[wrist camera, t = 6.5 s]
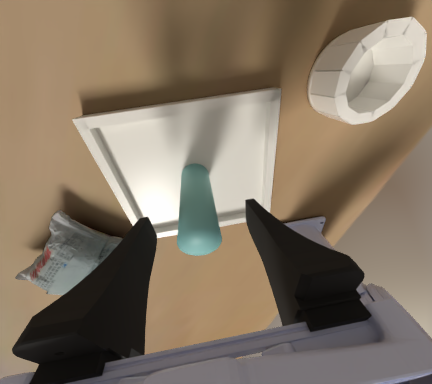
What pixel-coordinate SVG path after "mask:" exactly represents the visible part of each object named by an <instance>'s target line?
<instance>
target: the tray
mask: <svg viewBox="0 0 432 384" xmlns="http://www.w3.org/2000/svg"><path fill="white" fill-rule="evenodd" d="M280 100H281V88H275V87H273V88H266V89H259V90H252V91H245V92H239V93H232V94H225V95H218V96H211V97H205V98H198V99H191V100H184V101H177V102H171V103H164V104H157V105H150V106H143V107H137V108H130V109H123V110H116V111H109V112H103V113H96V114H89V115H82V116H80V117H77V118H75V119H72V120H73V122H74V124H75V126H76V127H77V129H78V131H79V133H80V134H81V136H82V138H83V140H84V141H85V143H86V145H87V147H88V148H89V150H90V152H91V154H92V155H93V157H94V159H95V161H96V162H97V164H98V166H99V168H100V169H101V171H102V173H103V175H104V176H105V178H106V180H107V182H108V183H109V185H110V187H111V189H112V190H113V192H114V194H115V196H116V197H117V199H118V201H119V203H120V204H121V206H122V208H123V210H124V211H125V213H126V215H127V217H128V218H129V220H130V222H131V224H132V225H133V226H134V225H135V223H136V222H137V221H138V220H139V218H143V217H149V219H150V221H151V224H152V226H153V228H154V230H155V232H156V234H157V238H161V237H166V236H172V235H177V234H178V221H179V205H180V190H181V175H182V171H183V169H184V168H185V167H186V166H188V165H190V164H194V163H196V164H201V165H203V166H204V167H205V168H206V169H207V170H208V173H209V178H210V183H211V188H212V193H213V198H214V203H215V208H216V212H217V217H218V222H219V227H221V226H227V225H232V224H238V223H243V222H246V209H245V200H247V199H253V198H254V199H255V200H256V201H257V202H258V203H259V204H260V205H261V206H262V207H263V208H265V209H266V210H267V211H268V212H269V213H270V206H271V195H272V185H273V174H274V163H275V153H276V142H277V132H278V121H279V110H280Z"/></svg>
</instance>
